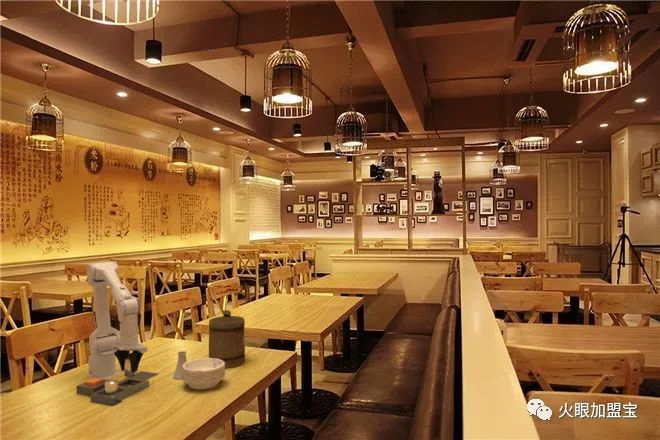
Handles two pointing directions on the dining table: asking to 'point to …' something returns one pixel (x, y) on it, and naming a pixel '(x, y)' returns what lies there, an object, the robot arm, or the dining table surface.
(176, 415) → the dining table surface
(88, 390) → the button housing
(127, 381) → the grey flat rectangular frame
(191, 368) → the paper bowls
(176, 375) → the flask
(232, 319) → the wooden container
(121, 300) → the robot arm
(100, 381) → the button
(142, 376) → the rubber mat
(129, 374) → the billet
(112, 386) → the light bulb
